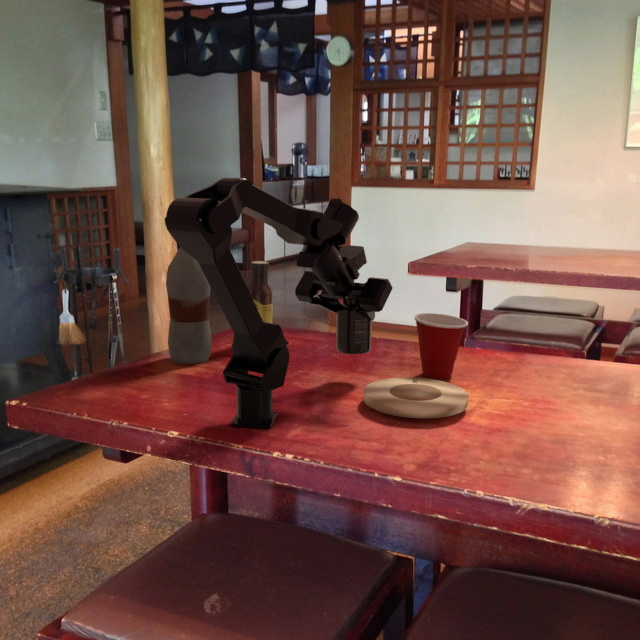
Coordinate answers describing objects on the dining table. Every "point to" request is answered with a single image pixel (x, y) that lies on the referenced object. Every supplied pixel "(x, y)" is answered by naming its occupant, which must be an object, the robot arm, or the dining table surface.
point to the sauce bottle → (261, 290)
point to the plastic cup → (439, 343)
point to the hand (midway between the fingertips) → (357, 316)
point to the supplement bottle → (352, 328)
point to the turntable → (415, 397)
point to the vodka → (188, 310)
